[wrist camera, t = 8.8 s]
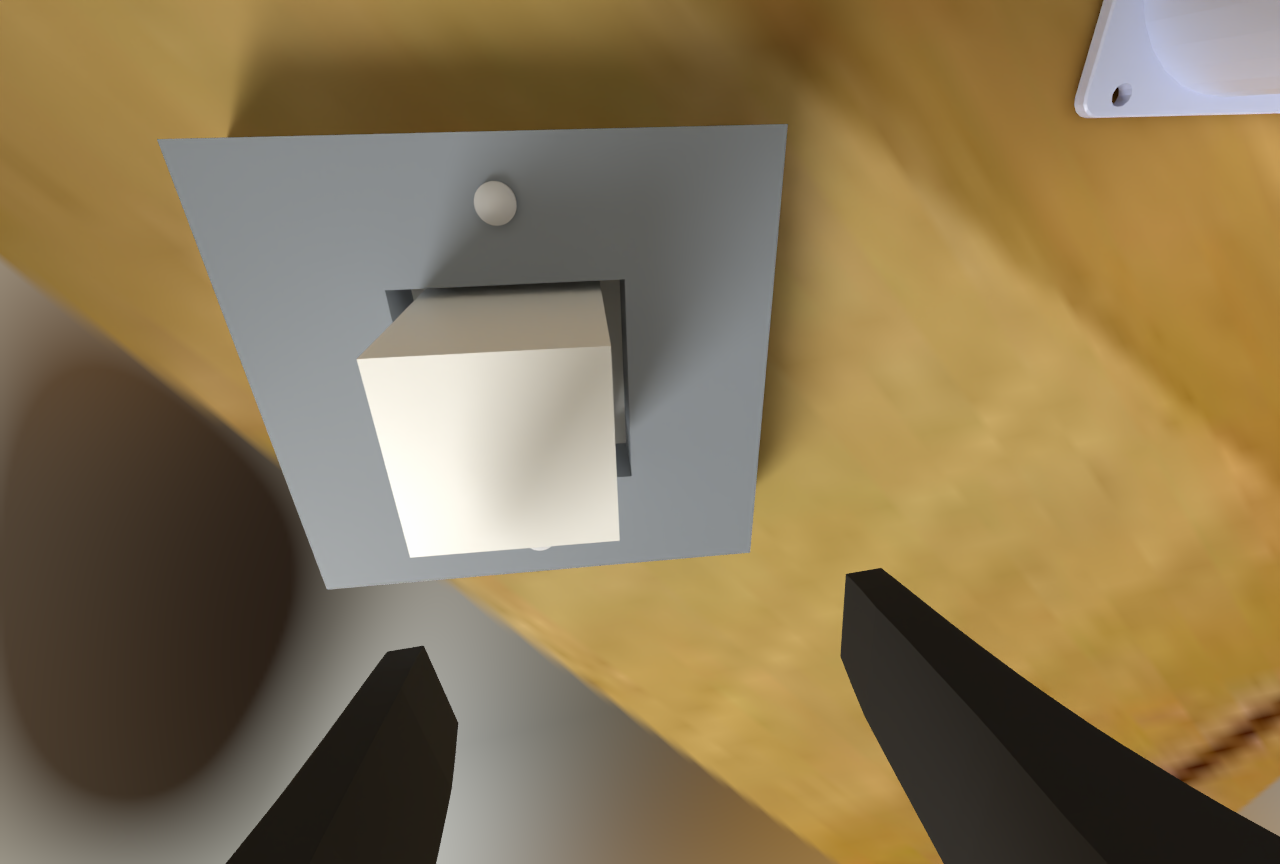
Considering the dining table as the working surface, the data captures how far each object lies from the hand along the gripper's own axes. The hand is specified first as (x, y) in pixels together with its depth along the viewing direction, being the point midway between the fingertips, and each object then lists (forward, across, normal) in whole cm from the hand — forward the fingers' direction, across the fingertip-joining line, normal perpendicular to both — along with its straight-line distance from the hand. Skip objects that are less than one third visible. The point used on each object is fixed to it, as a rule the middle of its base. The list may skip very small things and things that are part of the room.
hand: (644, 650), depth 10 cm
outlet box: (+9, +2, -2) cm, 10 cm away
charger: (+9, +2, -3) cm, 10 cm away
